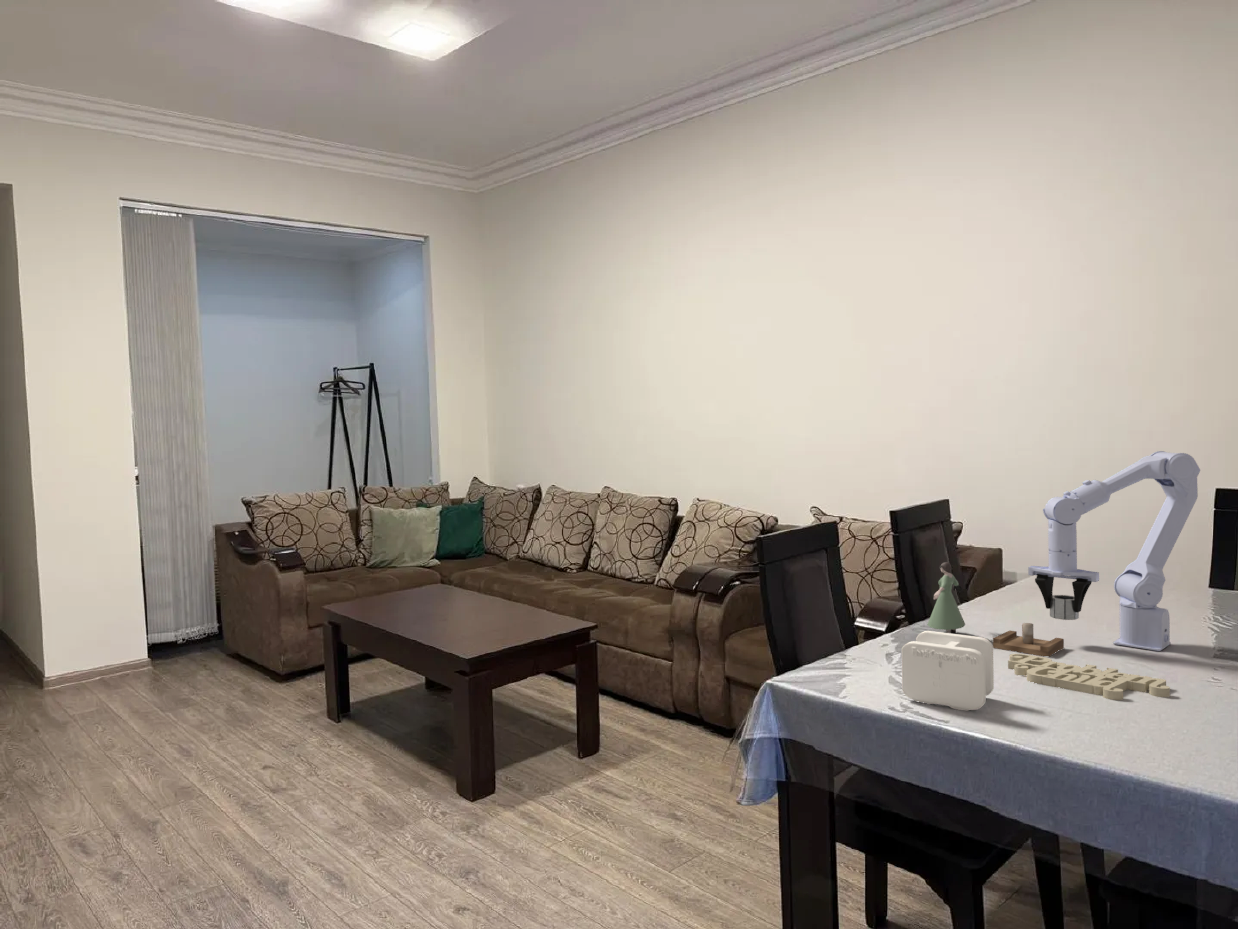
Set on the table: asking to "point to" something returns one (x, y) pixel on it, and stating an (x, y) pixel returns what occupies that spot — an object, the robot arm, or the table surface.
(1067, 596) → the tube
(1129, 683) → the decorative sign
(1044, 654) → the shaft block
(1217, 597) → the table surface
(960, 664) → the cable organizer
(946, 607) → the character figurine
